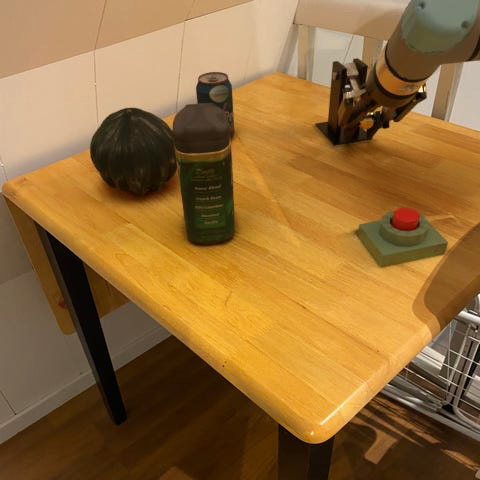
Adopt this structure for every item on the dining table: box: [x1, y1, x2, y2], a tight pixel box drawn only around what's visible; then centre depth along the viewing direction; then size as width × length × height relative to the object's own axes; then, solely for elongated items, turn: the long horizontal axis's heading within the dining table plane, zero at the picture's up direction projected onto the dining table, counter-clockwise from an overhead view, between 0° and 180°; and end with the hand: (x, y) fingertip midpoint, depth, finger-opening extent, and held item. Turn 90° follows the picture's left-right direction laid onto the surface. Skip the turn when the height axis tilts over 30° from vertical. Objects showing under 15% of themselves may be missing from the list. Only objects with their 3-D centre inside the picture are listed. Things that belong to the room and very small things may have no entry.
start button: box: [392, 207, 420, 231], centre depth 69 cm, size 4×4×2 cm
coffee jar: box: [171, 103, 236, 245], centre depth 71 cm, size 10×8×19 cm
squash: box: [89, 107, 178, 197], centre depth 84 cm, size 14×15×15 cm
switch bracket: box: [315, 57, 373, 147], centre depth 93 cm, size 10×8×14 cm
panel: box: [357, 210, 449, 268], centre depth 71 cm, size 10×8×4 cm
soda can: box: [195, 71, 235, 141], centre depth 96 cm, size 7×7×12 cm
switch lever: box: [342, 61, 376, 130], centre depth 88 cm, size 13×4×4 cm, turn 14°
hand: (357, 133), depth 93 cm, fingers closed on switch lever, 4 cm apart
